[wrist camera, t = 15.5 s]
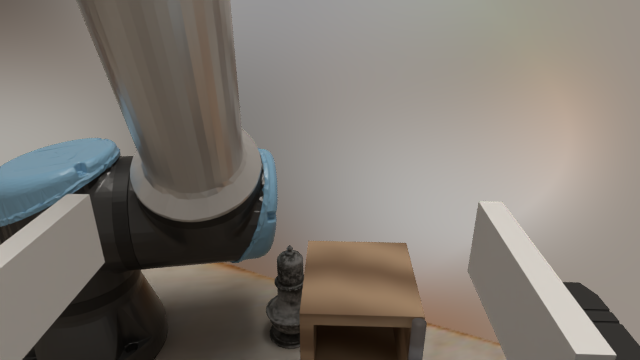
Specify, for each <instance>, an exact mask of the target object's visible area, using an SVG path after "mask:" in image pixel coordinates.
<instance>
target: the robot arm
mask: <svg viewBox="0 0 640 360" xmlns="http://www.w3.org/2000/svg"><path fill="white" fill-rule="evenodd" d="M76 2H77V4H78V6H79V9H80V11H81V14H82V16H83V18H84V21H85V24H86V26H87V28H88V31H89V33H90V36H91V38H92V41H93V43H94V46H95V48H96V50H97V53H98V55H99V58H100V60H101V63H102V65H103V68H104V70H105V72H106V75H107V77H108V80H109V82H110V85H111V87H112V90H113V92H114V94H115V97H116V99H117V102H118V104H119V107H120V109H121V112H122V114H123V116H124V119H125V121H126V124H127V126H128V129H129V131H130V134H131V136H132V138H133V141H134V143H135V146H136V148H137V150H136V152H135V154H134V156H126V157H124V156H123V157H122V156H120V149H119V148H118V147H117V146H116V144H115V143H114V142H113V141H111V140H108V139H101V138H87V139H79V140H72V141H67V142H63V143H59V144H54V145H50V146H47V147H43V148H40V149H37V150H34V151H31V152H29V153H26V154H24V155H21V156H19V157H17V158H15V159H13V160H11V161H9V162H7V163H5V164H3V165H2V166H0V360H153V358H154V357H155V356H156V355H157V354H158V352H159V351H160V349H161V348H162V346H163V344H164V342H165V339H166V336H167V331H168V325H167V319H166V314H165V309H164V306H163V304H162V302H161V300H160V299H159V298H158V296H157V295H156V293H155V292H154V290H153V289H152V287H151V286H150V284H149V283H148V281H147V280H146V278H145V277H144V275H143V274H142V272H141V269H150V268H162V267H173V266H185V265H196V264H207V263H219V262H232V263H239V262H240V261H243V260H246V259H254V258H259V257H262V256H264V255H265V254H266V253H268V251H269V250H270V249H271V246H272V244H273V241H274V236H275V230H276V210H277V178H276V169H275V162H274V158H273V156H272V154H271V153H270V152H269V151H267V150H265V149H260V148H257V146H256V143H255V142H254V140H253V139H252V137H251V136H250V135H249V134H247V133H246V132H245V131H244V130H243V129H242V126H241V116H240V105H239V95H238V94H239V93H238V83H237V72H236V60H235V49H234V38H233V27H232V17H231V6H230V0H76ZM468 273H469V275H470V278H471V280H472V282H473V284H474V286H475V289H476V291H477V293H478V295H479V298H480V300H481V302H482V305H483V307H484V309H485V311H486V314H487V316H488V318H489V320H490V323H491V325H492V327H493V329H494V332H495V334H496V336H497V338H498V341H499V343H500V345H501V347H502V350H503V352H504V354H505V356H506V359H507V360H640V346H639V345H638V343H637V342H636V341H635V340H634V339H633V337H632V336H631V335H630V334H629V332H628V331H627V330H626V329H625V328H624V326H623V325H621V324H619V321H618V319H617V318H616V317H615V316H614V314H613V313H612V312H610V311H609V308H608V307H607V306H606V305H605V304H604V302H603V301H602V300H601V299H600V298H599V296H598V295H597V294H595V293H594V292H592V291H591V290H589V289H588V288H586V287H585V286H583V285H582V284H581V283H573V282H562V281H561V280H560V278H559V277H558V276H557V274H556V273H555V272H554V271H553V269H552V268H551V266H550V265H549V264H548V263H547V261H546V260H545V258H544V257H543V256H542V255H541V253H540V252H539V251H538V249H537V248H536V246H535V245H534V244H533V242H532V241H531V240H530V239H529V237H528V236H527V234H526V233H525V232H524V230H523V229H522V228H521V226H520V225H519V224H518V222H517V221H516V220H515V218H514V217H513V216H512V214H511V213H510V212H509V210H508V209H507V208H506V206H505V205H504V204H503V202H485V201H479V203H478V209H477V215H476V221H475V229H474V234H473V241H472V247H471V253H470V260H469V266H468Z"/></svg>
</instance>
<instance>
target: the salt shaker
mask: <svg viewBox="0 0 640 360" xmlns="http://www.w3.org/2000/svg"><path fill="white" fill-rule="evenodd" d="M292 249H293V248H292V247H291V246H290V245H289V246H288V247H287V250H286V251H284V252H282V253H281V254H280V255H279V256H278V258H277V271H278V276H277V277H276V278H275V285H276V287H277V288H278V295H277V296H275V297H274V298H273V299H271V300H270V302H269V303H268V305H267V307H266V313H267V316H268V318H269V319H270V321H271V323H272V327H271V330H270V336H271V339H272V341H273V342H274V343H275V344H277V345H278V346H281V347H283V348H290V349H291V348H298V347H300V315H299V313H300V305H301V297H302V289H303V281H304V275H303V257H302V255H301V254H300V253H299V252H298V251H295V250H292Z"/></svg>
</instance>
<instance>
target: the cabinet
mask: <svg viewBox="0 0 640 360" xmlns="http://www.w3.org/2000/svg"><path fill="white" fill-rule="evenodd" d="M299 315H300V357H301V360H422V357H423V349H424V341H425V333H426V324H427V323H426V321H425V315H424V311H423V308H422V304H421V300H420V296H419V292H418V288H417V284H416V280H415V276H414V272H413V268H412V264H411V261H410V256H409V252H408V248H407V245H406V243H384V242H336V241H309V242H308V249H307V258H306V265H305V274H304V281H303V289H302V297H301V305H300V313H299Z"/></svg>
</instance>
